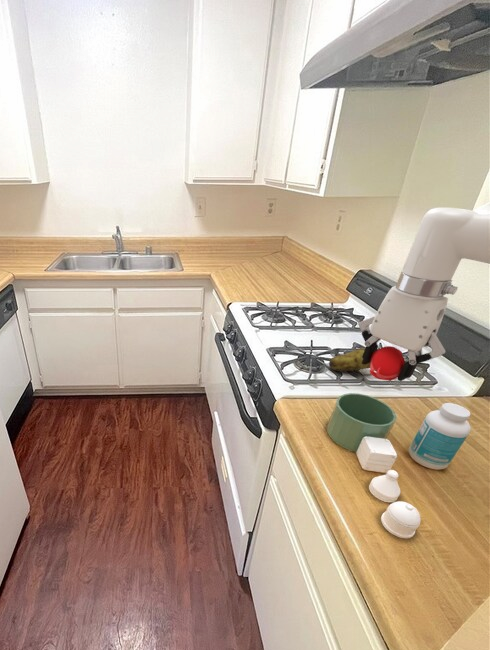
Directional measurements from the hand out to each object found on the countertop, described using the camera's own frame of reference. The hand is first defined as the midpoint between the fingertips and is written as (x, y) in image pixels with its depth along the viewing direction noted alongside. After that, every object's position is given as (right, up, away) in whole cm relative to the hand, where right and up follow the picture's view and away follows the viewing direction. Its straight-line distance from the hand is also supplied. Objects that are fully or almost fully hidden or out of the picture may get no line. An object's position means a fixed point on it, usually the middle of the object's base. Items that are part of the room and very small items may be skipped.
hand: (384, 369), depth 72 cm
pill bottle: (+12, -19, +4) cm, 23 cm away
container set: (-3, -24, -4) cm, 25 cm away
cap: (0, -1, +1) cm, 1 cm away
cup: (-1, -15, +10) cm, 18 cm away
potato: (+12, +1, +35) cm, 37 cm away
